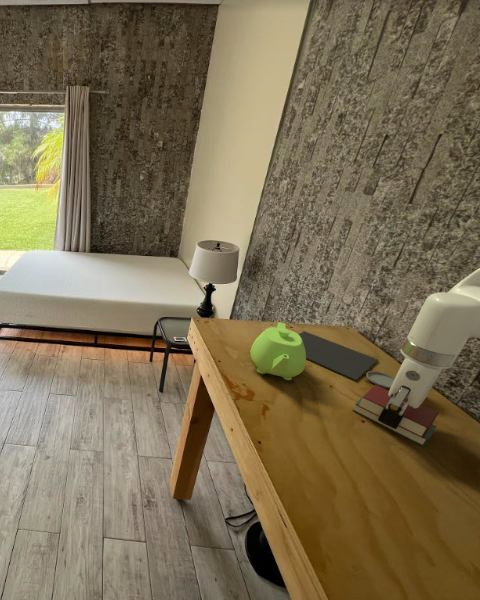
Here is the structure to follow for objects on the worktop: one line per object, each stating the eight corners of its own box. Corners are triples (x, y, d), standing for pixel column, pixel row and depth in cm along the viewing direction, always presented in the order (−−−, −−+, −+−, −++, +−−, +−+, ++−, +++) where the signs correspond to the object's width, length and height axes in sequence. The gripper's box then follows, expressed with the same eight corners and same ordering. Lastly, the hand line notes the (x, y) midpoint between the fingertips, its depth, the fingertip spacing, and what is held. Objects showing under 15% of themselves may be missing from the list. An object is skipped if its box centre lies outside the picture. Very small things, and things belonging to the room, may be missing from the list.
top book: (432, 422, 69) (439, 412, 68) (422, 438, 66) (429, 427, 64) (370, 394, 78) (375, 384, 76) (358, 406, 74) (363, 396, 73)
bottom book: (432, 433, 69) (437, 426, 69) (424, 447, 66) (428, 439, 65) (362, 400, 79) (365, 393, 78) (352, 410, 76) (355, 403, 75)
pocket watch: (364, 371, 89) (378, 341, 85) (405, 382, 85) (421, 351, 80) (366, 387, 83) (381, 355, 79) (410, 400, 79) (428, 367, 74)
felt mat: (377, 361, 93) (378, 359, 93) (355, 381, 85) (356, 379, 85) (303, 332, 108) (304, 330, 108) (279, 347, 100) (279, 345, 100)
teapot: (304, 397, 80) (319, 356, 75) (246, 381, 86) (256, 342, 81) (298, 355, 96) (310, 319, 91) (249, 345, 102) (257, 310, 97)
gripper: (443, 377, 57) (402, 446, 65) (465, 346, 66) (427, 410, 73) (389, 357, 63) (358, 422, 71) (416, 331, 72) (385, 392, 79)
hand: (393, 416), depth 72 cm, fingers closed on top book, 7 cm apart
